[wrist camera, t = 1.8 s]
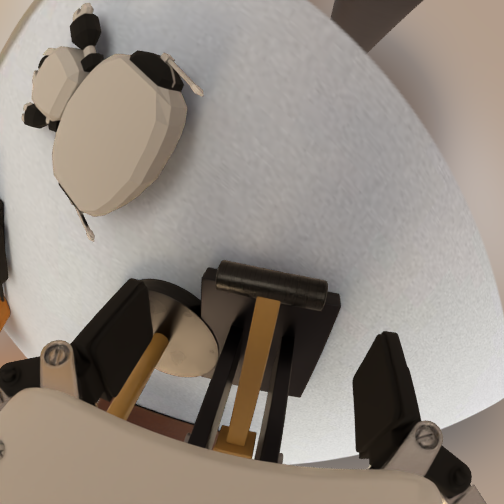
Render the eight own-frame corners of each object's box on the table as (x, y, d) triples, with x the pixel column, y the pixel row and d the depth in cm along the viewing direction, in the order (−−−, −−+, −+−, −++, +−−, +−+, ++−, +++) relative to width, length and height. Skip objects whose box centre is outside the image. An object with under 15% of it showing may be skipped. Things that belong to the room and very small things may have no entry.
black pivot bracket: (207, 266, 21) (122, 411, 10) (339, 293, 20) (349, 462, 9) (205, 365, 27) (160, 475, 16) (301, 386, 26) (286, 504, 15)
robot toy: (41, 116, 18) (128, 229, 20) (4, 122, 14) (90, 252, 16) (111, 2, 13) (235, 105, 15) (73, -11, 9) (206, 98, 11)
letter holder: (221, 451, 39) (200, 519, 26) (119, 417, 41) (89, 473, 29) (221, 430, 34) (195, 513, 22) (103, 389, 36) (64, 454, 24)
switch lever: (227, 257, 14) (216, 261, 12) (324, 277, 14) (331, 285, 11) (196, 446, 15) (186, 468, 13) (268, 463, 15) (266, 486, 12)
